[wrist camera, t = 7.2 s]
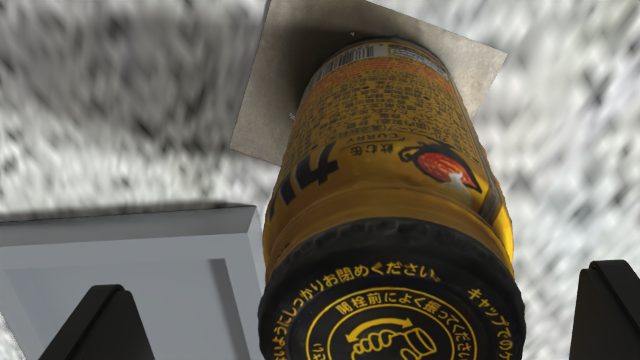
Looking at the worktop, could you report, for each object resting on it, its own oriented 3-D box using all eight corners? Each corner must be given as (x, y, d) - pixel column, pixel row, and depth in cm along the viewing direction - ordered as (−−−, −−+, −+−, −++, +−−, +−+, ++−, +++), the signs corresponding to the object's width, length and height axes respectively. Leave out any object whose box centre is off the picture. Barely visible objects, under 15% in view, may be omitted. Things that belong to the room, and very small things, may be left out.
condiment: (421, 211, 22) (467, 496, 12) (229, 146, 22) (101, 391, 11) (506, 51, 19) (677, 259, 8) (281, -34, 18) (164, 81, 8)
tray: (-6, 222, 24) (-34, 248, 23) (256, 206, 23) (247, 232, 21) (90, 413, 31) (73, 445, 29) (299, 411, 29) (295, 444, 28)
